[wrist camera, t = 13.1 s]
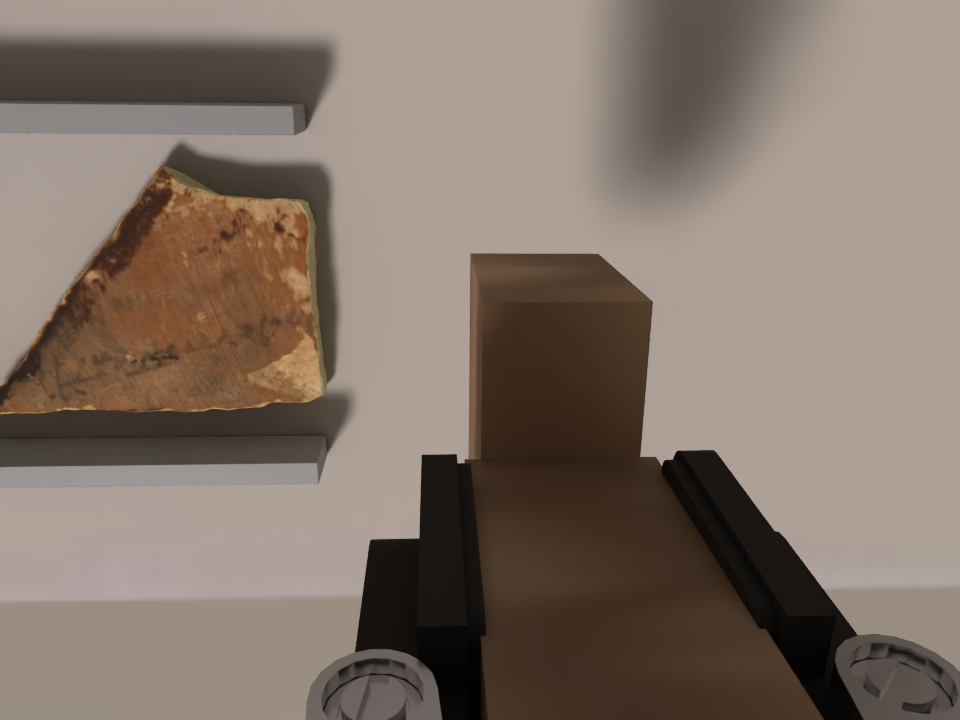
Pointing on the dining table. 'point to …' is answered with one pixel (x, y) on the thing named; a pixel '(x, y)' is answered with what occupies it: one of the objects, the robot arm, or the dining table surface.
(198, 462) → the frame
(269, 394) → the shard
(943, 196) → the dining table surface
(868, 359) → the dining table surface
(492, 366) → the wooden step block
